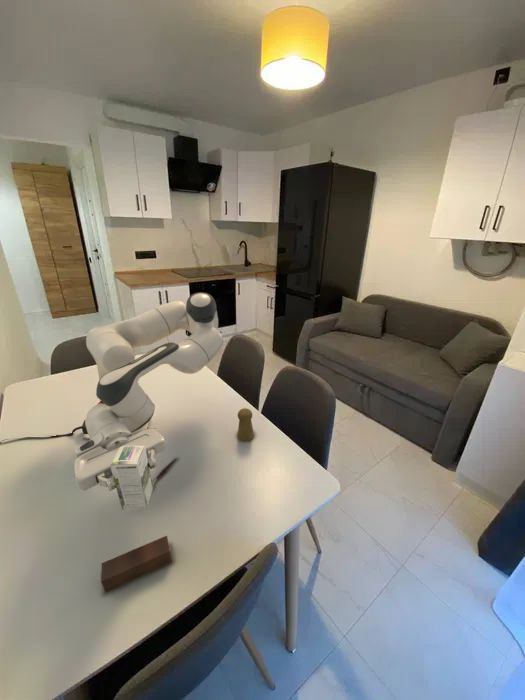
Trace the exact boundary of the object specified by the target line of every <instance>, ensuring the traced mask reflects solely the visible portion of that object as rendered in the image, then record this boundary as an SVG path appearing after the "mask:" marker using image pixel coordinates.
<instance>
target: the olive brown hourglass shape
mask: <svg viewBox="0 0 525 700" xmlns="http://www.w3.org/2000/svg"><path fill="white" fill-rule="evenodd" d="M237 418H238V427H237V428H238V429H237V439H238V440H240V441H241V442H249V441H251V440H253V439H254V438H255V437H254V436H255V434H254V428H253V424H252V423H253V422H252V419H253V412H252V410H251V409H250V408H245V407H244V408H241V409H239V410H238V412H237Z"/></svg>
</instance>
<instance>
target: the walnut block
mask: <svg viewBox="0 0 525 700" xmlns="http://www.w3.org/2000/svg"><path fill="white" fill-rule="evenodd" d="M172 558H173V557H172V554H171V548H170V543H169V539H168V535H164V536H162V537H160V538H157V539H155V540H153V541H151V542H148V543H146V544H143V545H141V546H139V547H137V548H134V549H131V550H129V551H127V552H125V553H122V554H120V555H117V556H115V557H112V558H111V559H108V560H106V561H103V562H101V563H100V565H101V567H100V568H101V569H100V583H101V585H102V588H103V590H104V592H105V593H107V592H109V591H112V590H114V589H115V588H118V587H120V586H123V585H124V584H127V583H129V582H131V581H133V580H135V579H138V578H140V577H142V576H144V575H146V574H148V573H151V572H153V571H155V570H157V569H160V568H161V567H164V566H166V565H168V564H170V563H172V562H173V559H172Z"/></svg>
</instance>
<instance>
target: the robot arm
mask: <svg viewBox="0 0 525 700" xmlns="http://www.w3.org/2000/svg"><path fill="white" fill-rule="evenodd" d="M183 330H185V335H186V336H187V338H185V339H184V340H183V341H181V342H179V343H176V342H166V343H164V344H161V345H159V346H157V347H155V348H154V349H151V350H150V351H148V352H146V353H144V354H143V355H141V356H139V357H137V358H136V355H135V351H134V349H136V348H141V347H149V346H153V345H154V344H155V343H157V342H159V341H162V340H163V339H165V338H167V337H169V336H171V335H172V334H174V333H177V332H178V331H183ZM85 344H86V349H87V350H88V352H89V354H91V357H92V358H93V360H94V362H95V364H96V367H97V374H98V382H97V385H96V390H95V391H96V392H95V395H96V398H97V399H99V400H100V401H99V402H98V403H97V404H96V405H94V406H92V407H91V408H90V409H89V410H88V411H87V413H86V415H85V419H83V423H82V425H81V426H77V427H75V428H73V429H72V430H71V432H72V433H71V432H68V433H64V434H55V435H56V436H55V437H54V438H62V437H63V438H64V437H69V436H72V435H74V434H75V432H76V431H78V430H82V435H83V434H88V435H89V437H90V438H89V437H85V436H83V438H84V439H86V440H87V441H86V442H85V443H83V444H82V445H80V446H78V447H77V448H75V450H74V456H75V460H74V463H73V472H74V476H75V480H76V483H77V486H78V488H79V490H80V491H83V492H84V491H88V490H90V489H91V488H93V487H96V486H97V485H100V486H101V487H104V488H107V489H108V491H109V492H111V491H114V490H115V489H116V488H117V487H116V484H115V481H114V478H113V474H112V471H111V467H110V466H111V464H112V462H113V460H114V458H115V456H116V454H117V452H118V450H119V448H120V447H123V446H145V450H146V455H147V459H148V465H149V469H150V470H153V469H155V468H158V464H157V461H156V459H157V455H159V454H161V453H164V451H166V448H167V442H166V438H165V437H164V436H163V434H161V433H160V431H159V430H158V429H157V428H156V427H152V428H150V427H149V422H150V421H151V419H152V418H153V416H154V414H155V409H156V406H155V403H154V402H153V401H152V399H151V398H150V397H149V395H148V394H147V392H145V390H144V388H142V386H141V385H140V384H139V380H140V378H142V377H144V376H145V375H147V374H149V373H150V372H151V371H153V370H155V369H156V368H159V367H160V366H162V365H168V366H170V367H171V368H172V369H174V370H176V371H178V372H179V373H183V374H186V375H191V374H196V373H199V372H200V371H201V370H203V369H204V368H205V367H206V366H207V365H208V364H209V363H210V362H211V361H212V360H213V358H215V356H217V354H218V353H219V351H220V350H221V348H222V347H223V345H224V337H223V335H222V333H221V332H220V330H219V317H218V311H217V303H216V300H215V298H214V297H213V296H212V295H211V294H209V293H208V292H203V291H201V292H195V293H192V294H191V295H190V296H189V297H188V298H187V299H186V303H185V302H183V301H181V300H174V301H170V302H166V303H163V304H160V305H158V306H156V307H153V308H151V309H149V310H147V311H145V312H143V313H141V314H139V315H138V314H137V315H136V316H134V317H130V318H128V319H125V320H120V321H117V322H113V323H110V324H107V325H99V326H98V325H97V326H95V327H93V328H91V329H90V330H89V331H88V332H87V335H86V338H85ZM73 432H74V433H73Z"/></svg>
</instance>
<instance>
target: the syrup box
mask: <svg viewBox="0 0 525 700" xmlns="http://www.w3.org/2000/svg"><path fill="white" fill-rule="evenodd" d="M148 460H149V459H147V455H146V450H145V446H123V447H120V448H119V450H118V452H117V454H116V456H115V458H114V460H113V462H112V464H111V466H110V467H111V471H112V474H113V477H112V478H113V479H114V481H115V484H116V487H117V488H115V489H116V492H117V496H118V499H119V504H120V506H121V510H122V511H130V510H143V509H144V510H146V509H148V506H149V503H150V500H151V496H152V494H153V490H154V486H153V485H152V482H153V480H152V475H151V469H150V468H149V465H148Z"/></svg>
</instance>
